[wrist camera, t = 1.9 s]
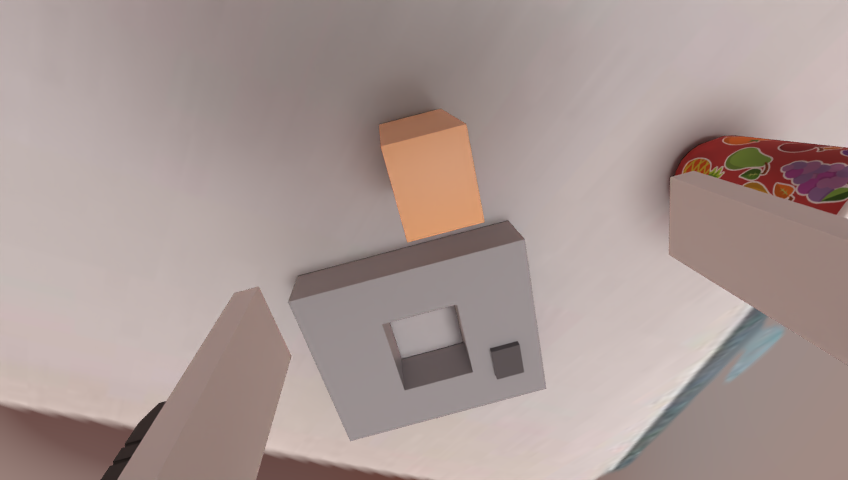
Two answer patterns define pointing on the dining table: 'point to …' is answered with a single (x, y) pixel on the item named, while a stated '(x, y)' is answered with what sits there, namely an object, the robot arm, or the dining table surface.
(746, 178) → the smoothie
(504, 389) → the socket box
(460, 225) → the plug
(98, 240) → the dining table surface
